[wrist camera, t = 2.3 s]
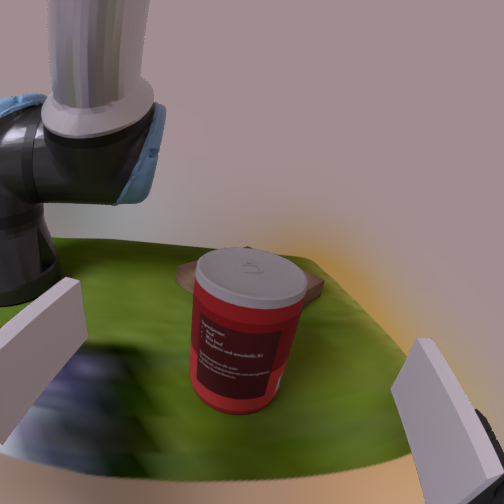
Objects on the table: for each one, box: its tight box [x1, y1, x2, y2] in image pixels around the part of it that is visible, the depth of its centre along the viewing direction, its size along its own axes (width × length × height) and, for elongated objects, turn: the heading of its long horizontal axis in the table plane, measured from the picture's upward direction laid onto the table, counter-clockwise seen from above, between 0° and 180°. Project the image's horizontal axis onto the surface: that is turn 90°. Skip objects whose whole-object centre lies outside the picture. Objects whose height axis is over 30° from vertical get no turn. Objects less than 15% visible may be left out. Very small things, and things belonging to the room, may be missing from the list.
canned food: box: [190, 248, 307, 415], centre depth 23 cm, size 8×8×11 cm
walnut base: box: [176, 247, 325, 308], centre depth 40 cm, size 14×14×2 cm
